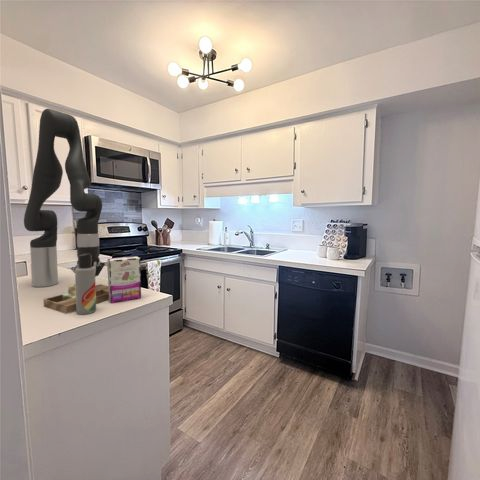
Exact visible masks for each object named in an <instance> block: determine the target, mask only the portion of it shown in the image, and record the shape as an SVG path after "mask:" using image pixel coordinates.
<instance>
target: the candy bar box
mask: <svg viewBox="0 0 480 480" xmlns="http://www.w3.org/2000/svg"><path fill="white" fill-rule="evenodd" d="M141 278H142V277H141V257H139V256H123V257H114V258H107V280H108V281H107V283H108V284H107V286H108V289H109V300H108V301H109V303H111V304H114V303H115V304H116V303H121V302H126V301H131V300H132V301H133V300H138V299H141V298H142V285H141V284H142V282H141V280H142V279H141Z"/></svg>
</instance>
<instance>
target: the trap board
mask: <svg viewBox="0 0 480 480" xmlns="http://www.w3.org/2000/svg"><path fill="white" fill-rule="evenodd" d="M95 287H96V305H97V304H100V303H103V302H105V301H109V289H108V285H105V284H101V283H100V284H95ZM43 307H45V308H48V309H50V310H51V309H52V310H55V311H58V312H61V313H64V314H69V313H70V314H71V313H73V312H75V311H76V312H77V309H76V296H75V295H71V294H68V292H67V293H63V294H59V295H54V296H51V297H48V298H44V299H43Z"/></svg>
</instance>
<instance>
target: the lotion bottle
mask: <svg viewBox="0 0 480 480" xmlns="http://www.w3.org/2000/svg"><path fill="white" fill-rule="evenodd" d="M77 261H78V265H79V267H78V268H76V269H75V273H74V275H75V284H76V309H77V310H76V313H77V314H78V315H89V314H92V313H94V312H95V311H96V310H97V304H96V287H95V286H96V277H95V267H92V256H91V255H90V253H85V254H80V255H78V257H77Z"/></svg>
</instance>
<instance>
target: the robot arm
mask: <svg viewBox="0 0 480 480" xmlns="http://www.w3.org/2000/svg"><path fill="white" fill-rule="evenodd" d="M39 119H40V120H39V126H38V127H39V131H38V146H37V153H36V159H35V164H34V167H33V174H32V179H31V180H32V181H31V188H30V194H29V197H28V201H27V206H26V208H25V212H24V217H23V226H24V228H25V230H27V231H29V232H43V234H42V235H40V236H39V237H36V238H33V239H31V240H30V242H29V245H30V247H29V249H30V270H31V271H30V272H31V275H30V276H31V285H32V287H34V288H35V287H36V288H44V287H45V288H46V287H52V286H55V285H57V284H59V276H58V275H59V271H58V253H57V251H58V248H57V247H58V246H57V242H58V217H57V216H58V215H57V214H56V212H55V211H54V210H49V209H42V206H43V205H44V203H45V202H46V201H47V200H48V199H49V198H50V197H52V195H54V193H56V192H57V191H58V189H59V188H60V187H61V184H62V183H61V182H62V179H63V173H64V171H65V173H66V177H67V179H68V182H69V196H70V197H69V200H70V204H71V206H72V208H73V209H74V210H75V211H78V212H81V213H85V216H84V217H82V218H81V217H80V218H78V219H77V221H76V230H77V231H76V254H77V255H76V256H77V258H78V255H80V254H85V253H90V255H91V256H92V267H95V278H96V277H98V276H100V273H101V272H102V270H103V269H104V267H105V266H106V263H105V262H102V261H100V260H101V259H100V257H99V256H100V236H99V221H100V217H101V213H102V209H103V201H102V199H101V197H100V196H99V195H98V194H96V193H90V192H89V193H88V192H87V193H86V192H85V190H86V189H88V188H90V187H91V186H92V182H91V181H92V180H91V178H90V175H89V173H88V169H87V167H86V164H85V159H84V154H83V153H84V152H83V146H82V145H83V144H82V139H81V132H80V126H79V124H78V121H77V119H76V118H75V116H73V115H71V114H70V113H69V114H68V113H65V112H62V111H59V110H55V109H52V108H45V109H44V110H42V112H41V115H40V118H39ZM55 138H59V139H60V138H61V139H66V141H67V144H68V148H69V151H68V154H67V157H66V158H65V162H64V171H63V167H62V164H61V162H60V160H59V158H58V157H57V153H56V150H55ZM78 267H79V265H78V260H77V262H76V265H75V266H72V267H71V269H70V270H71V271H72V272H73V273H74V274H75V269H76V268H78Z"/></svg>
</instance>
